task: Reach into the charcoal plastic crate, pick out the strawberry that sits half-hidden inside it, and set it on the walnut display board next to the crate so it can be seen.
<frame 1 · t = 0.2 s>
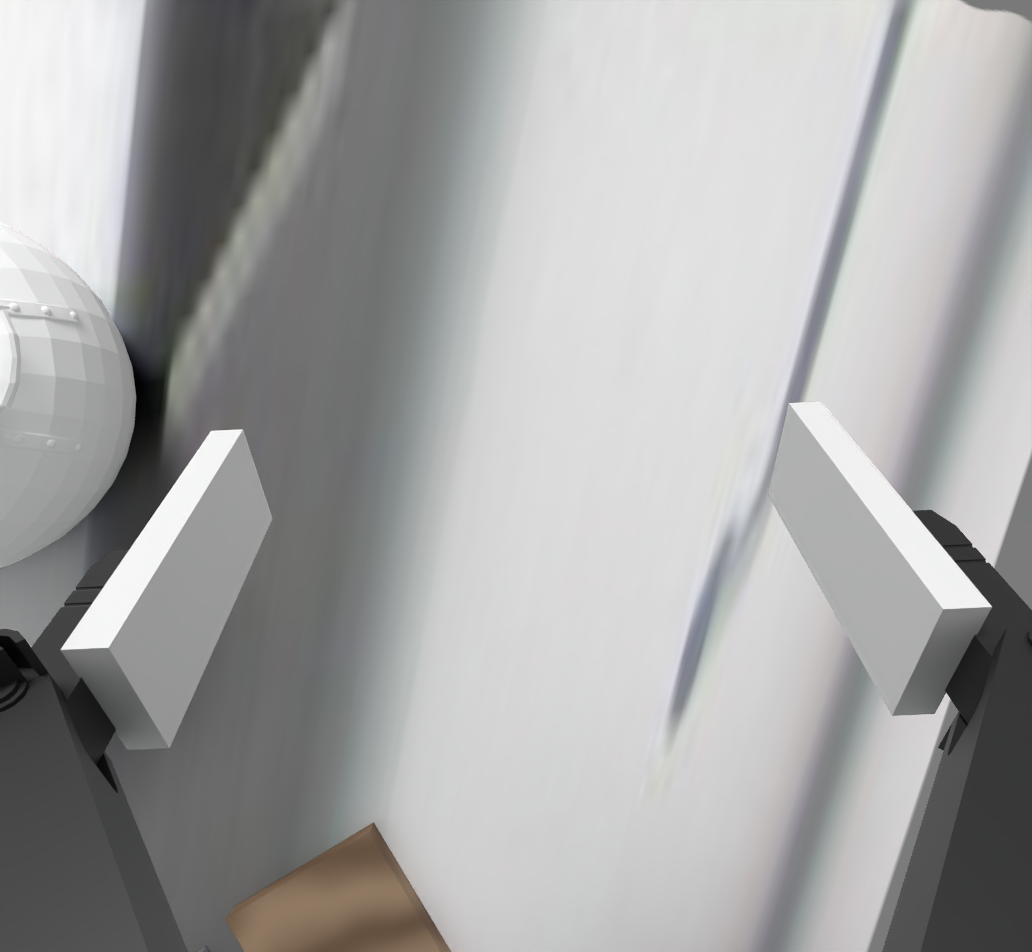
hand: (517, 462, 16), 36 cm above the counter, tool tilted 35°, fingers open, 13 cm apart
display board: (349, 940, 52), on the counter
pot: (3, 405, 53), on the counter
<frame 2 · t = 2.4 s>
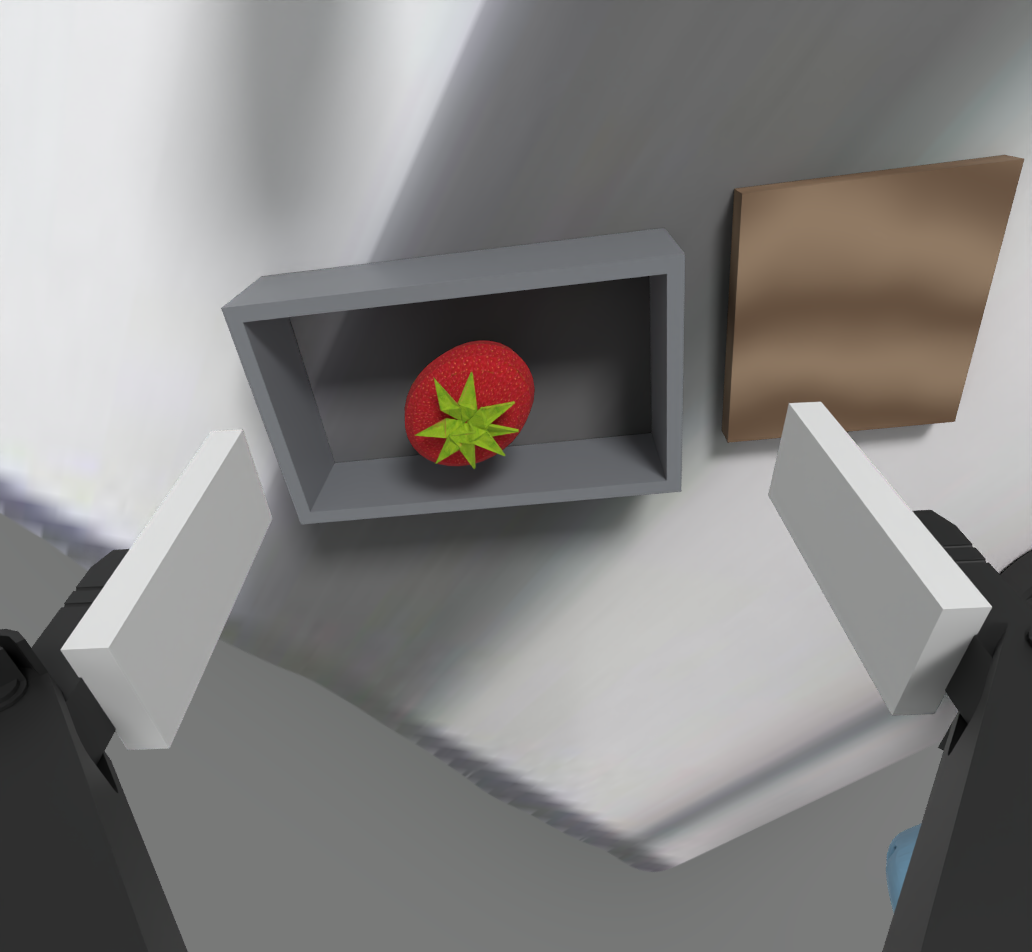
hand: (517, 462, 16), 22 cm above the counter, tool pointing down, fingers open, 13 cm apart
crate: (476, 365, 39), on the counter
strawberry: (476, 363, 39), resting in crate
display board: (846, 308, 36), on the counter
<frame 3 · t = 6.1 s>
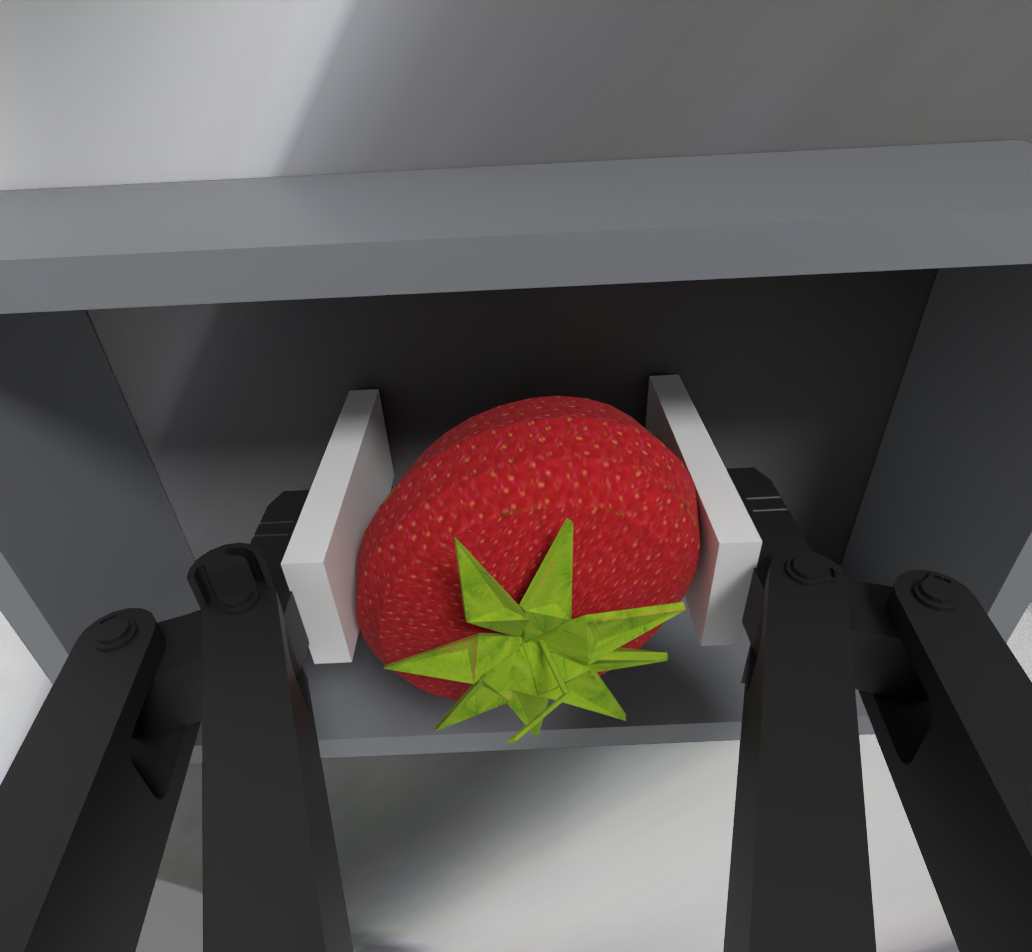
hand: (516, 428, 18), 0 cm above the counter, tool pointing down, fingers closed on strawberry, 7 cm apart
crate: (516, 425, 18), on the counter
strawberry: (516, 421, 18), resting in crate, touching gripper
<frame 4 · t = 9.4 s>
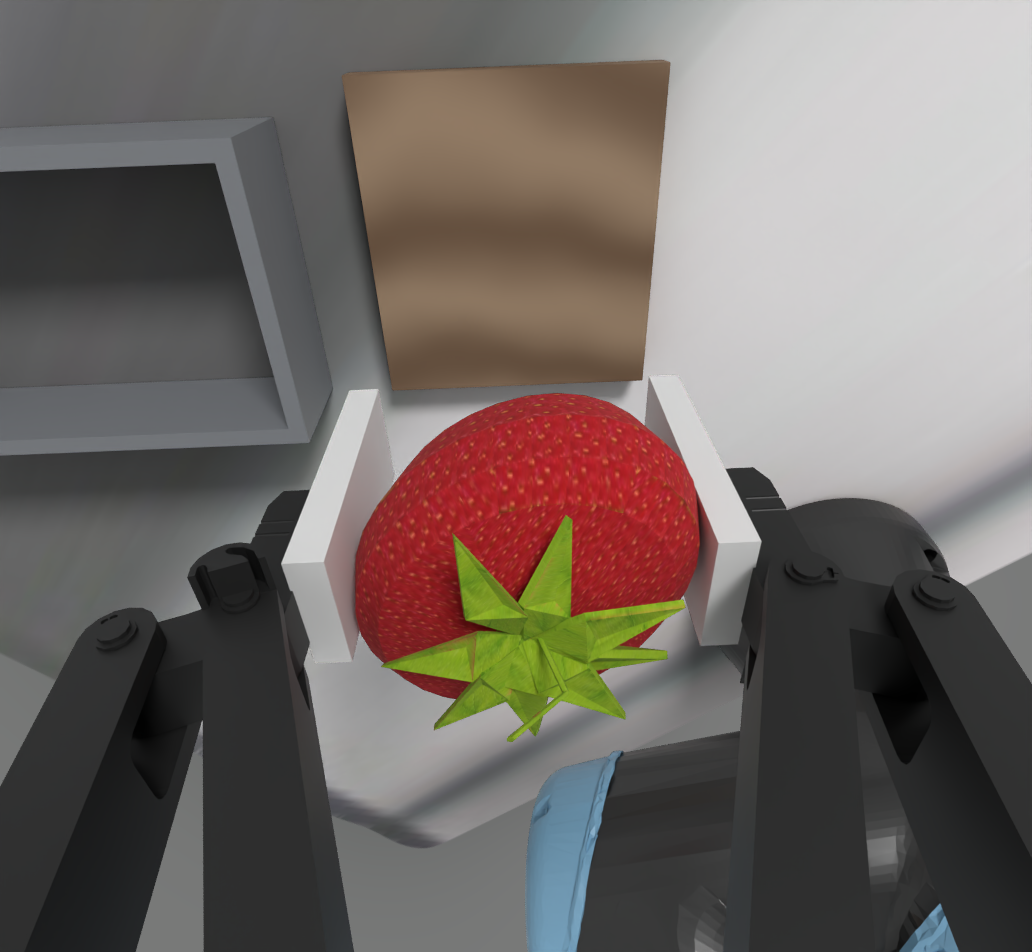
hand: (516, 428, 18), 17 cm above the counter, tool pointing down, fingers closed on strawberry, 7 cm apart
crate: (79, 278, 32), on the counter
strawberry: (515, 419, 18), point 16 cm above the counter, touching gripper
display board: (511, 239, 31), on the counter
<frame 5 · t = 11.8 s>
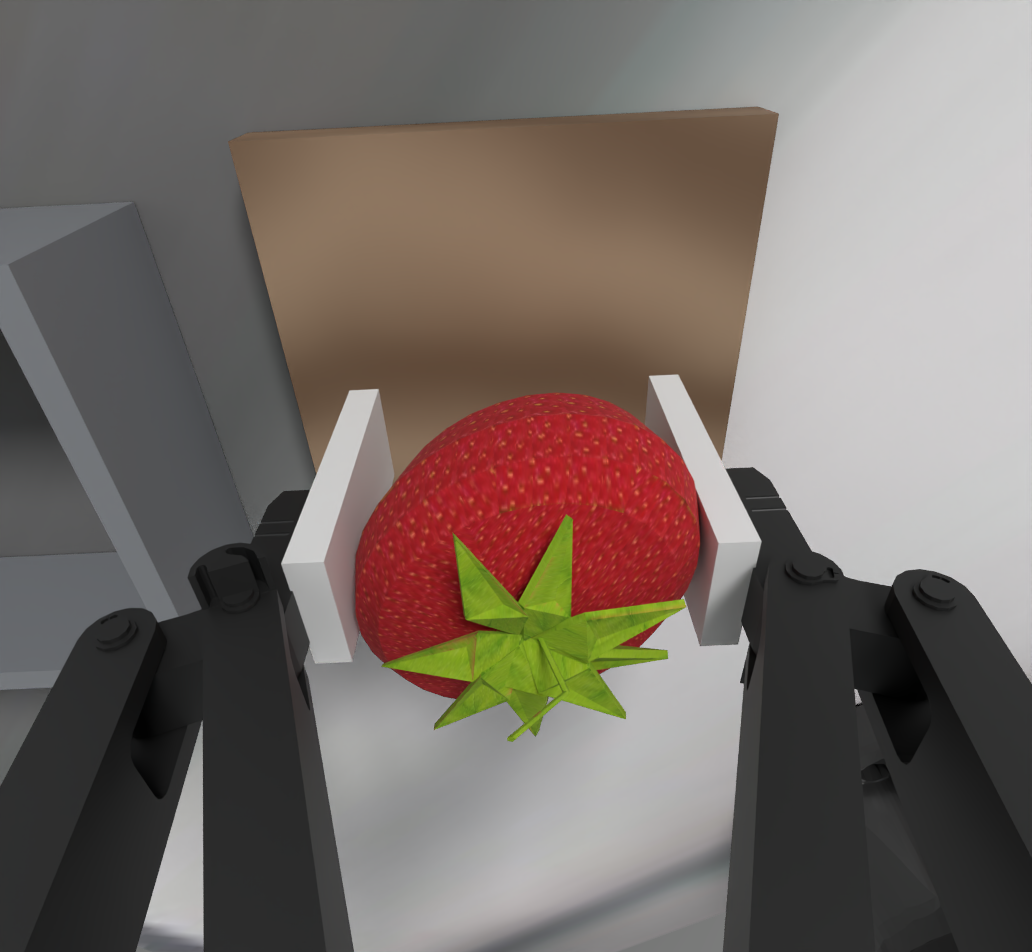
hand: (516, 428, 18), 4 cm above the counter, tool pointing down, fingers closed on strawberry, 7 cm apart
strawberry: (515, 419, 18), point 3 cm above the counter, touching gripper
display board: (514, 370, 21), on the counter
when the fingers open (3 cm above the counter, at t = 12.9 s): strawberry stays where it is, resting on display board.
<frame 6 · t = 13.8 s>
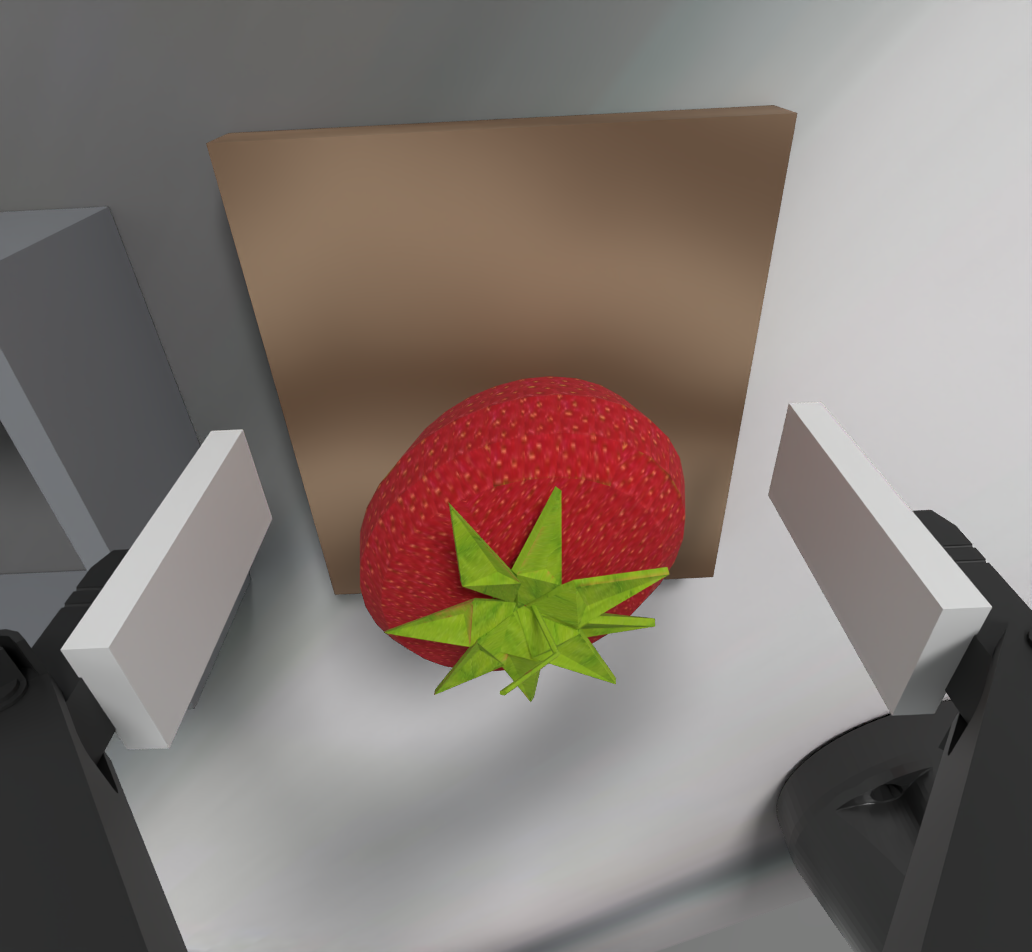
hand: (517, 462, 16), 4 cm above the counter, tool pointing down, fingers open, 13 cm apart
strawberry: (513, 406, 19), point 1 cm above the counter, touching display board
display board: (513, 382, 20), on the counter
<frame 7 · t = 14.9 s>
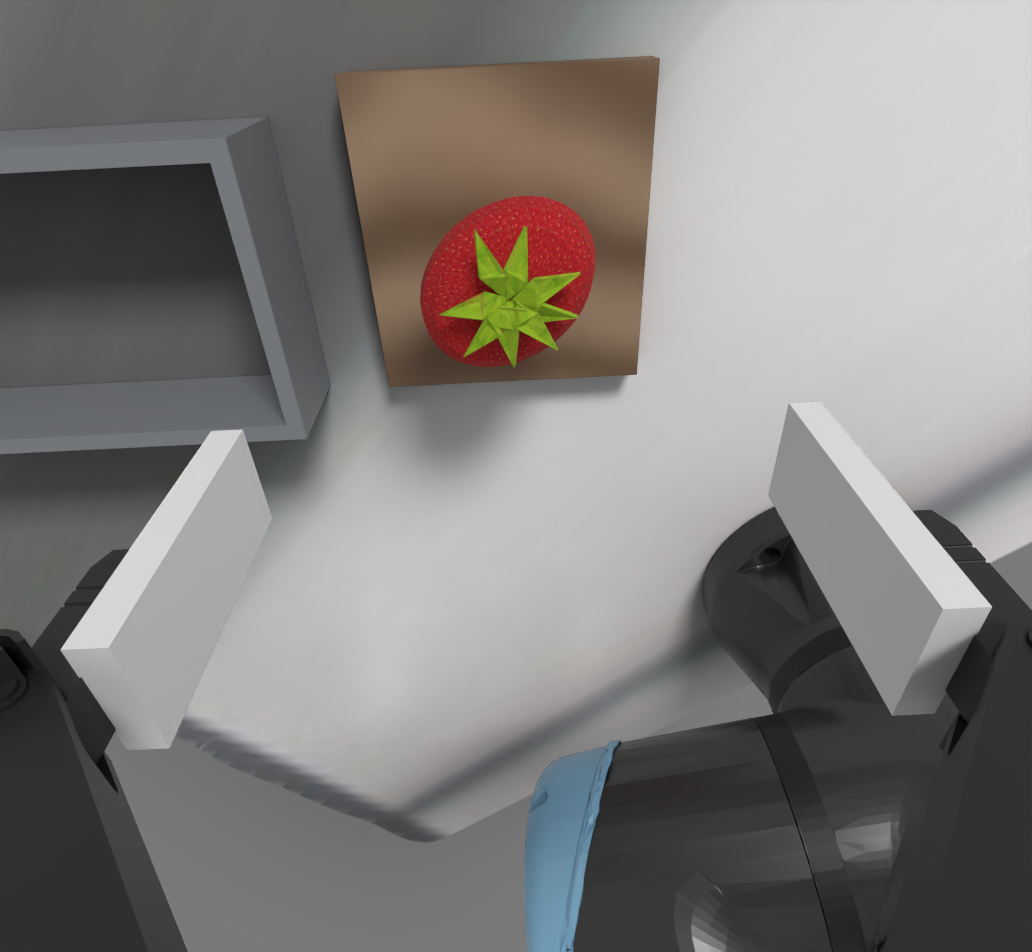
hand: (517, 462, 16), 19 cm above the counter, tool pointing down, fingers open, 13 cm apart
crate: (79, 278, 32), on the counter
strawberry: (505, 245, 30), point 1 cm above the counter, touching display board
display board: (505, 235, 31), on the counter
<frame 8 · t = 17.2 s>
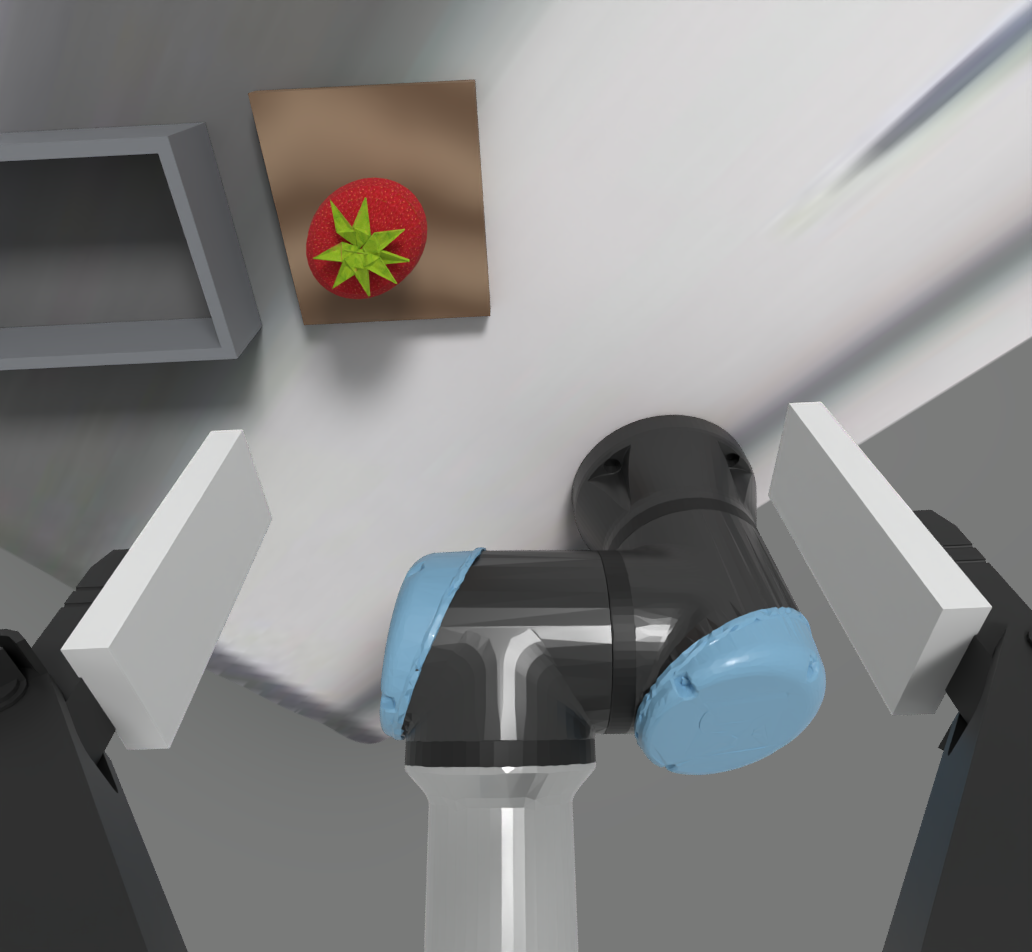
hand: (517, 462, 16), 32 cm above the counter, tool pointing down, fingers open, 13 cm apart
crate: (71, 241, 43), on the counter
strawberry: (381, 215, 42), point 1 cm above the counter, touching display board
display board: (384, 209, 43), on the counter
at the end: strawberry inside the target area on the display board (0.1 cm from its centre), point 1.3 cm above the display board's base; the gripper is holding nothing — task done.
